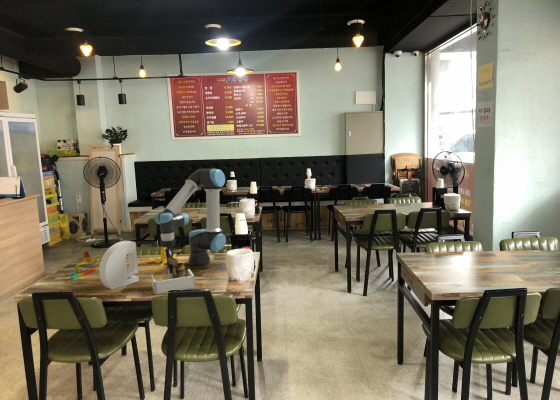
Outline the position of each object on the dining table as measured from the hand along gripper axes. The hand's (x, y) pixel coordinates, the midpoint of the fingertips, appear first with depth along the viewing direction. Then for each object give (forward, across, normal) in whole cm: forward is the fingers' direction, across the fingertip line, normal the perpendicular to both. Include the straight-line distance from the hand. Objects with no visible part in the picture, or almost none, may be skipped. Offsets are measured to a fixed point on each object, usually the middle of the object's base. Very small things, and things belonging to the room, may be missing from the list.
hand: (171, 278), depth 252 cm
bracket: (+3, -11, -28) cm, 30 cm away
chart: (+3, -49, -44) cm, 66 cm away
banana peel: (+3, -50, +1) cm, 50 cm away
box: (+3, +9, 0) cm, 9 cm away
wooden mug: (+3, +4, +3) cm, 6 cm away
